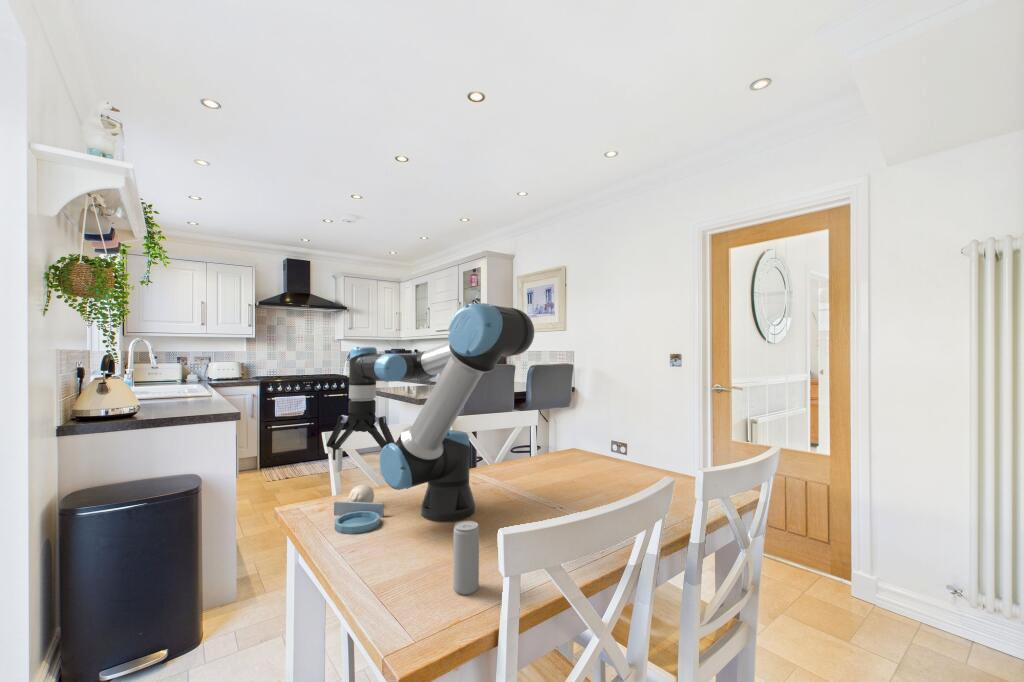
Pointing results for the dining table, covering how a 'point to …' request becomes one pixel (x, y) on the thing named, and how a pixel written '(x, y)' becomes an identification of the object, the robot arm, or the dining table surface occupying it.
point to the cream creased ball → (361, 494)
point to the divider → (357, 507)
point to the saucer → (357, 522)
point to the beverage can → (466, 557)
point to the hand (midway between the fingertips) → (360, 472)
